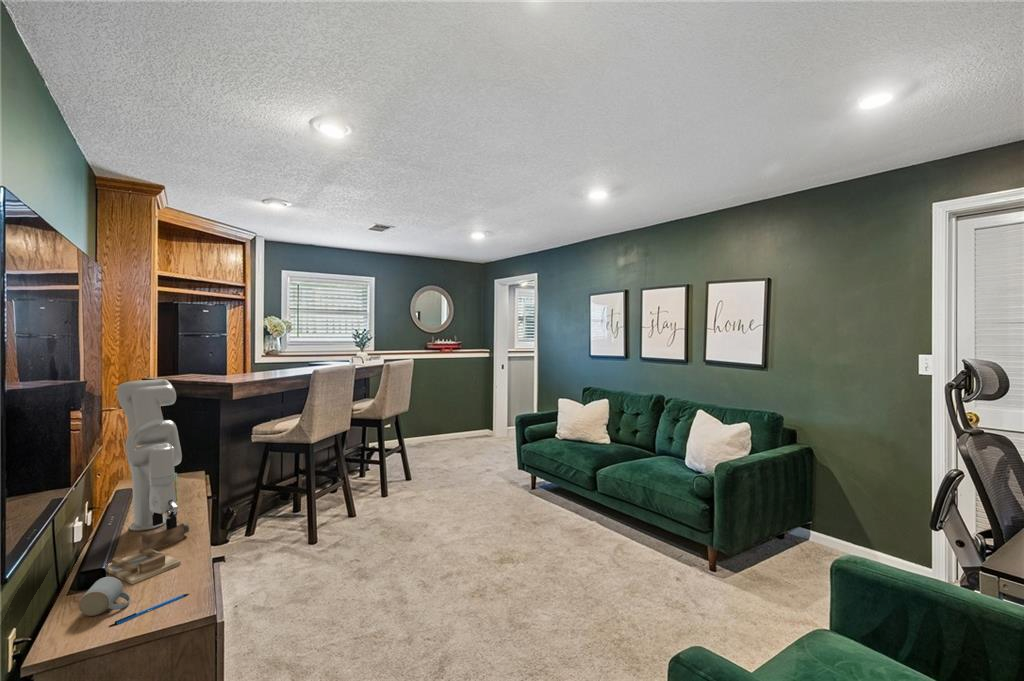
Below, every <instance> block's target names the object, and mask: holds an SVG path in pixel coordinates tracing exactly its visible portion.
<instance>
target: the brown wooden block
mask: <svg viewBox="0 0 1024 681" xmlns="http://www.w3.org/2000/svg"><path fill="white" fill-rule="evenodd" d="M189 532H190V526H189V524H188V523H187V522H181V521H178V520H177V527H176V528H173V529H170V530H167V529H166V524H164V525H161V526H159V527H156V528H152V529H149V530H148V531H147V530H146V531H144V532H142V533H141V549H142V548H147V549H153V550H155V551H156V550H157V549H159V548H163V547H165V545H166V546H168V545H171V544H173V543H176V542H178V540H179V541H181V540H183V538H184V539H185V534H187V533H189ZM175 541H176V542H175ZM170 543H171V544H170ZM167 544H168V545H167ZM162 546H163V547H162Z"/></svg>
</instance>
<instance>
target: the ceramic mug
mask: <svg viewBox="0 0 1024 681" xmlns="http://www.w3.org/2000/svg"><path fill="white" fill-rule="evenodd" d="M119 598H121V599H124V600H126V602H124V603H121V604H120V603H119V604H117V603H115V602H116V601H117V600H118V599H119ZM131 599H132V598H131V595H130V594H129V593H126V592H125V591H124V585H123V583H122V581H121V580H119V578H118V577H115V576H114V577H113V576H105V577H101V578H99V579H97V580H96V581H95V582H94V583H93V584H92V585H91V586H90V587H89V589H88V590H87V591H86V592H85V593H84V595H83V596H82V597H81V598H80V601H79V603H78V604H79V605H78V608H79V611H80V612H81V613H82V614H83V615H84V616H85V615H86V616H89V617H94V616H98V615H99V616H100V615H101V614H103V613H104V612H105V611H107V610H108V609H110V610H121V609H124V608H127V606H129V604H130V602H131Z"/></svg>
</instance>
